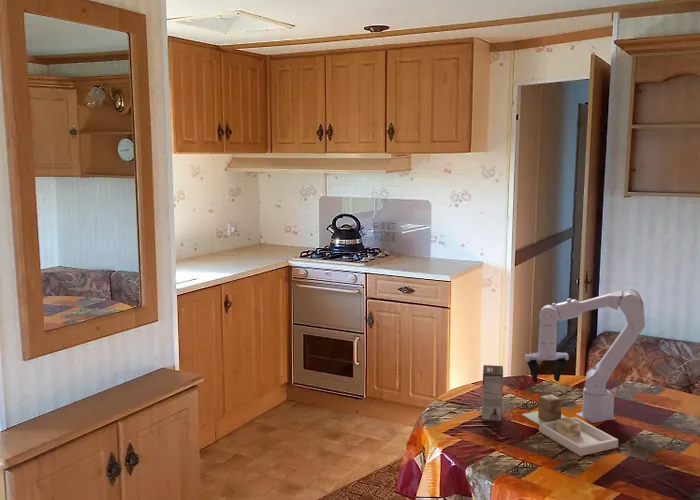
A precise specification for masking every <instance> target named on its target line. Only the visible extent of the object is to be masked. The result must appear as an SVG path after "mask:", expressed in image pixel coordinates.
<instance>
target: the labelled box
mask: <svg viewBox="0 0 700 500" xmlns="http://www.w3.org/2000/svg"><path fill="white" fill-rule="evenodd" d="M562 405H563V399H562V398H559V397H558V396H556V395H554V394H552V393H551V394H545V395H541V396H540V395H539V397H538V410H537V411H538V417H539V418H541V419H543V420H544V421H546V422H551V421H556V420H557V419H561V414H562Z"/></svg>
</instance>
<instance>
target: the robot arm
mask: <svg viewBox="0 0 700 500" xmlns="http://www.w3.org/2000/svg"><path fill="white" fill-rule="evenodd" d="M608 307H609V308H611V309H614V310H616V311H618V310H619V309H620V311H621V312H622V313H623V314H624V316H625V319H626V322H627V323H626V324H625V325H624V327H623V328H622V330H621V331H620V333H619V334H618V336H616V338H615V339H614V341H613V342H612V343H611V345H610V346H609V347H608V350H606V352H605V353H604V355H603V357H602V358H600V361H598V362H597V363H596V364H595V366H594V367H591V368H589V369H588V370H587V371H586V373H585V382H584V387H583V392H582V406H581V407H582V408H581V411H580V412H576V415H577V416H579V417H581V418H583V419H584V420H587V421H589V422H590V423H593V424H594V423H598V422H603V421H609V420H611V421H612V420H615V419H616V417H614V411H615V410H614V408H615V399H614V398H615V397H614V394H613V393H612V391H610V390H609V389H607V384H608V383H607V382H608V381H609V379H610V377H611V375H612V373H613V371H615V369H616V367H617V366H618V364H620V362H621V360H622V359H623V358H624V356H625V355H626V353H627V352H628V351H629V349H630V348H631V347H632V346H633V344H634V343H635V341H636V340H637V338H638V337H639V336H640V334H641V333H642V332H643V330H644V329H645V325H646V323H645V322H646V320H645V306H644V301H643V299H642V297H641V295H640V293H639V292H638V291H637V290H635V289H631V288H630V289H629V288H628V289H625V290H617V291H613V292H609V293H605V294H602V295H599V296H596V297H592V298H587V299H586V300H582V301H579V300H578V299H576V298H574V299H572V298H571V297H570V298H567V299H566V301H562V302H558V303H556V302H553V303H552V304H546V305H544V306H542V307H541V309H540V311H539V313H538V319H539V327H538V328H539V329H538V344H537V345H538V347H537V352H533V353H529V354H528V353H527V354H524V361H525V362H526V363H527V366H528V368H529V371H530V374H531V375H530V376H531V379H532V382H534V383H537V382H538V372H539V367H540V364H539V363H538V361H540V362H541V361H553V365H554V366H553V370H554V372H553V373H554V374H553V380H554V381H555V382H559V381H560V378H561V374H562V372H563V370H564V369H565V367H566V366H567V364H568V362H567V361H569V358H570V357H569V356H570V355H569V354H570V353H569V354H568V353H567V352H559V351H558V352H557V339H558V338H557V337H558V328H557V326H558V325H557V324H558V322H561V321H566V320H567V321H568V320H569V319H571V320H572V319H576V318H579V317H581V316H582V314H583V313H584V312H588V311H592V310H593V311H594V310H597V309H602V308H608Z"/></svg>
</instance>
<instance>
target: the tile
mask: <svg viewBox="0 0 700 500" xmlns="http://www.w3.org/2000/svg"><path fill="white" fill-rule="evenodd" d="M521 416H523V417H525V418H527V419H528V420H530V421H531V422H533V423H535V424H537V425H538V426H539V424H541V423H546V421H544V420H543V419H541V418H539V417H538V410H535V411H531V412H526V413H521ZM567 417H568V416H565V415H564V414H562V413H561V419H562V418H567Z"/></svg>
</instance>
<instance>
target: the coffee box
mask: <svg viewBox="0 0 700 500" xmlns="http://www.w3.org/2000/svg"><path fill="white" fill-rule="evenodd" d="M482 369H483V370H482V389H481V390H482V391H481V392H482V396H481V402H482V403H481V420H488V421H500V422H501V421H502V416H503V415H502V413H503V411H502V409H503V391H504V390H503V389H504V387H503V385H504V366H503V365H490V364H489V365H488V364H484V365H483V368H482Z"/></svg>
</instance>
